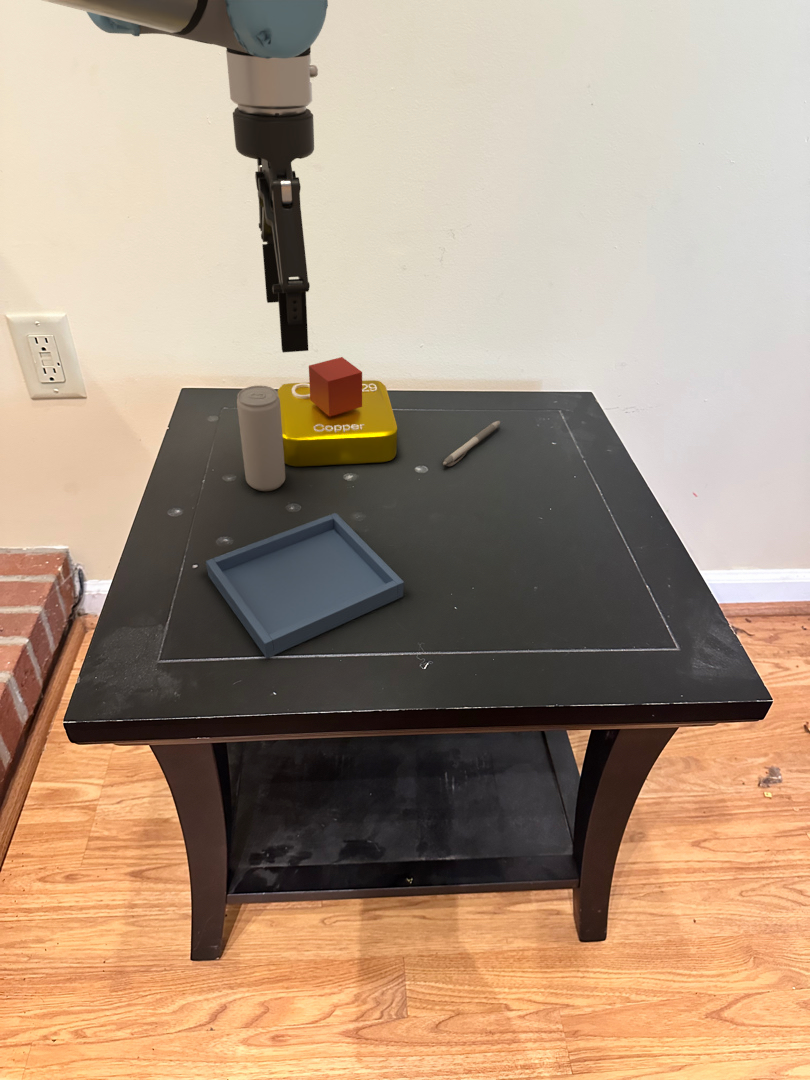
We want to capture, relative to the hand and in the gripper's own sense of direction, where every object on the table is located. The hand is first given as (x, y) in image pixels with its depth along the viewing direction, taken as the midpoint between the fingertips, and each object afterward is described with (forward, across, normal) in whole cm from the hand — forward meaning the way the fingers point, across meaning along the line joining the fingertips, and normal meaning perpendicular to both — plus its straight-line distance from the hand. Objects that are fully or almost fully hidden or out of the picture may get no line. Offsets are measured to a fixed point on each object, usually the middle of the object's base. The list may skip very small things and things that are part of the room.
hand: (286, 324), depth 82 cm
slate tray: (+18, -23, +2) cm, 30 cm away
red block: (+14, +6, -6) cm, 16 cm away
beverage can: (+19, -4, +4) cm, 19 cm away
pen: (+19, -1, -24) cm, 30 cm away
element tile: (+19, +6, -6) cm, 21 cm away
